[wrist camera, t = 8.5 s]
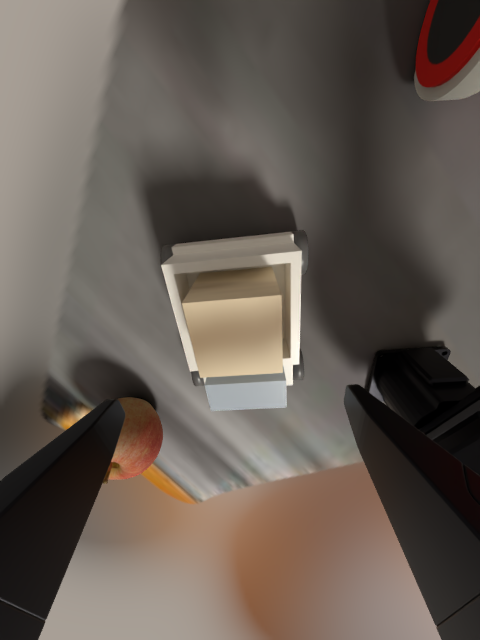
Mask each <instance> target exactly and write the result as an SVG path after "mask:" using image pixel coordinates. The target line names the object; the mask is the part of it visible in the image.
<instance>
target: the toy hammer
mask: <svg viewBox="0 0 480 640" xmlns="http://www.w3.org/2000/svg"><path fill="white" fill-rule="evenodd" d="M414 82H415V88H416V91H417V94H418V96H419V97H420V98H421V99H422V100H425V101H442V100H457V99H464V98H467V97H469V96H472V95H474V94H476V93H478V92H479V91H480V0H430V3H429V6H428V9H427V12H426V15H425V18H424V22H423V25H422V29H421V33H420V37H419V42H418V47H417V54H416V70H415V75H414Z"/></svg>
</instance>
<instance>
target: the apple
mask: <svg viewBox="0 0 480 640" xmlns="http://www.w3.org/2000/svg"><path fill="white" fill-rule="evenodd" d="M118 400H119V401H120V403H121V405H122V407H123V409H124V411H125V420H124V423H123V427H122V430H121V433H120V436H119V440H118V443H117V446H116V449H115V452H114V455H113V458H112V461H111V463H110V466H109V468H108V471H107V473H106V475H105V478H104V480H103V483H104V484H107V483H108V479H127V478H131V477H134V476H137V475H139V474H140V473H142V472H143V471H145V470H146V469H147V468H148V467H149V466H150V465H151V464H152V463H153V462H154V460H155V459H156V457H157V455H158V453H159V451H160V448H161V445H162V440H163V429H162V425H161V421H160V418H159V416H158V414H157V413H156V411H155V410H154V408H153V407H152V406H151V404H150V403H148V402H147V401H145V400H143V399H139V398H133V397H124V398H119V399H118Z"/></svg>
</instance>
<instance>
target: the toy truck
mask: <svg viewBox="0 0 480 640" xmlns="http://www.w3.org/2000/svg"><path fill="white" fill-rule="evenodd" d="M161 267H162V271H163V274H164V278H165V281H166V285H167V289H168V292H169V296H170V300H171V303H172V307H173V311H174V314H175V318H176V322H177V325H178V329H179V332H180V336H181V340H182V343H183V347H184V351H185V354H186V358H187V362H188V365H189V369H190V371H191V373H192V380H193V383H194V385H195V386H205V389H206V393H207V397H208V401H209V405H210V409H211V411H223V410H243V409H262V408H282V407H287V397H286V385H293V380H303V378H304V363H303V356H302V352H301V349H300V308H301V274H305V273H306V271H307V267H308V241H307V235H306V232H305V231H304V230H299V231H291V232H283V233H273V234H264V235H255V236H245V237H236V238H227V239H218V240H208V241H199V242H190V243H180V244H169V245H164V246H163V247H162V250H161ZM263 267H272V268H273V271H274V274H275V277H276V280H277V283H278V286H279V289H280V292H281V295H282V350H283V373H273V374H256V375H239V376H222V377H205V378H200V375H199V371H198V367H197V363H196V359H195V355H194V351H193V346H192V342H191V338H190V334H189V330H188V326H187V322H186V318H185V314H184V310H183V306H182V302H183V301H184V299H185V297H186V296H187V294H188V292H189V291H190V289H191V287H192V286H193V284H194V282H195V281H196V279H197V277H198V276H199V274H200V273H209V272H220V271H231V270H241V269H252V268H263Z"/></svg>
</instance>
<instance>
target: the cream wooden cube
mask: <svg viewBox="0 0 480 640" xmlns="http://www.w3.org/2000/svg"><path fill="white" fill-rule="evenodd" d="M182 306H183V310H184V314H185V318H186V322H187V326H188V330H189V334H190V338H191V342H192V346H193V351H194V355H195V359H196V363H197V367H198V371H199V375H200V378H205V377H222V376H239V375H256V374H273V373H283V350H282V295H281V292H280V289H279V286H278V283H277V280H276V277H275V274H274V271H273V268H272V267H263V268H252V269H241V270H231V271H220V272H209V273H200V274H199V276H198V277H197V279H196V281H195V282H194V284H193V286H192V287H191V289H190V291H189V292H188V294H187V296H186V297H185V299H184V301H183V302H182Z"/></svg>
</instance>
